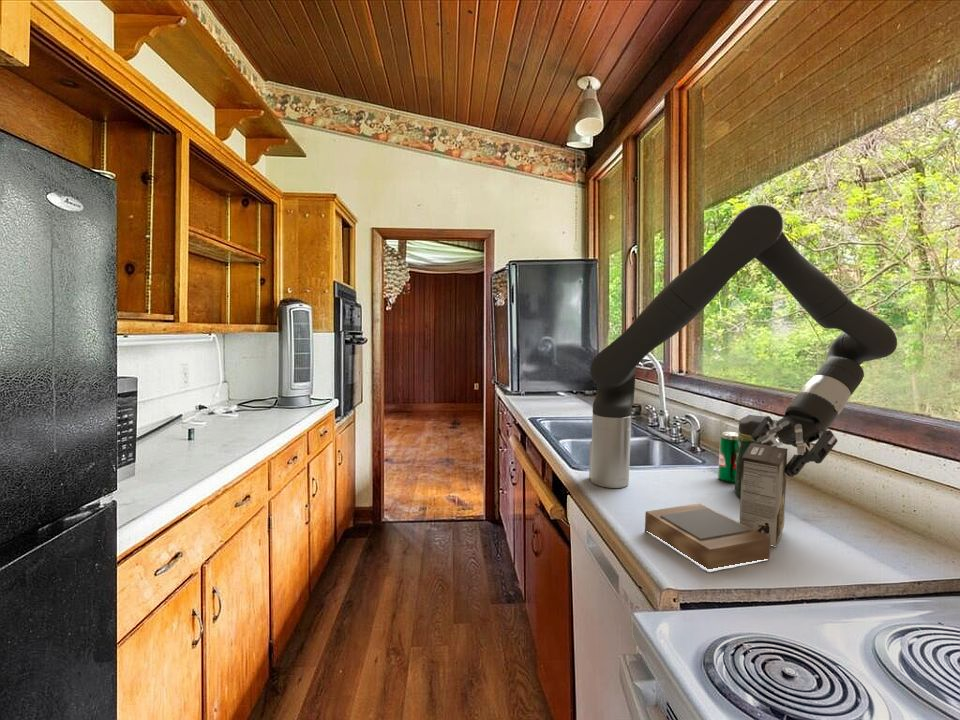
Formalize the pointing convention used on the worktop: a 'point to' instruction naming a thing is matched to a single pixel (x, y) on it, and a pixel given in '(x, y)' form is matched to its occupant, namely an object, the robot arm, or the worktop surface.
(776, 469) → the coffee box
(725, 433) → the soda can
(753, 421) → the coffee jar
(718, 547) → the block
